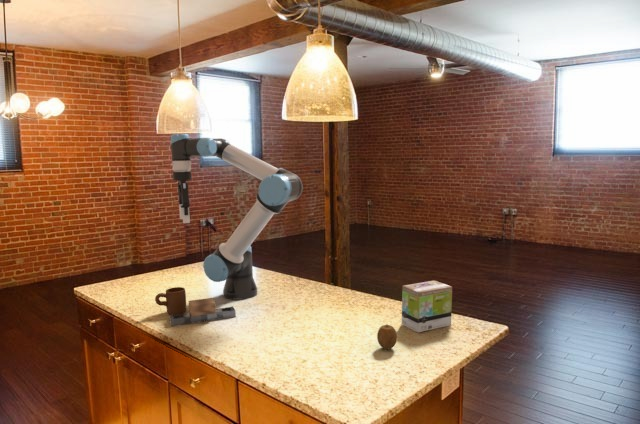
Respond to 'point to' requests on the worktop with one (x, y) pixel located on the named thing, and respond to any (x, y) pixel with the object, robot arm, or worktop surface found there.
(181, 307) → the mug
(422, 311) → the tea box
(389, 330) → the fruit
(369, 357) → the worktop surface
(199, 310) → the tan cardboard box
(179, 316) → the rail
